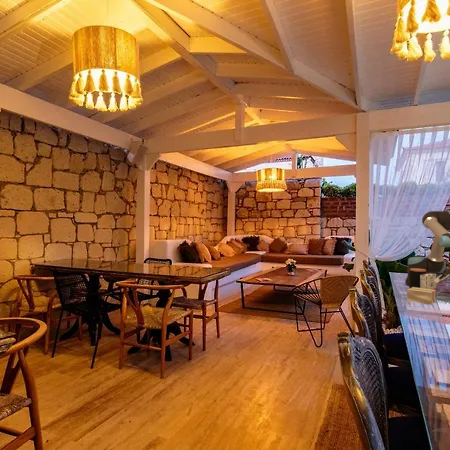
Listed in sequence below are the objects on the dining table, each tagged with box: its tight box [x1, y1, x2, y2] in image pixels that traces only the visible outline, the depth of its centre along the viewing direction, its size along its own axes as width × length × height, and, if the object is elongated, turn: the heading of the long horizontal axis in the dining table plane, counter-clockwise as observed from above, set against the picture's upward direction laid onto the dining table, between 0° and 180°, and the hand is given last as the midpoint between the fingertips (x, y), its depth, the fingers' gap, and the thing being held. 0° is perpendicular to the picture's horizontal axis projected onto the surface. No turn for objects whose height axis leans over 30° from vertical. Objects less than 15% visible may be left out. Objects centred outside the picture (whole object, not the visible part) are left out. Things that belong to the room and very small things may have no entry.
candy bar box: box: [420, 273, 437, 291], centre depth 246 cm, size 11×5×16 cm, turn 117°
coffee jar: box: [408, 268, 427, 289], centre depth 258 cm, size 11×11×18 cm
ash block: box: [406, 287, 437, 306], centre depth 235 cm, size 12×14×8 cm
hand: (438, 280), depth 241 cm, fingers open, 13 cm apart
